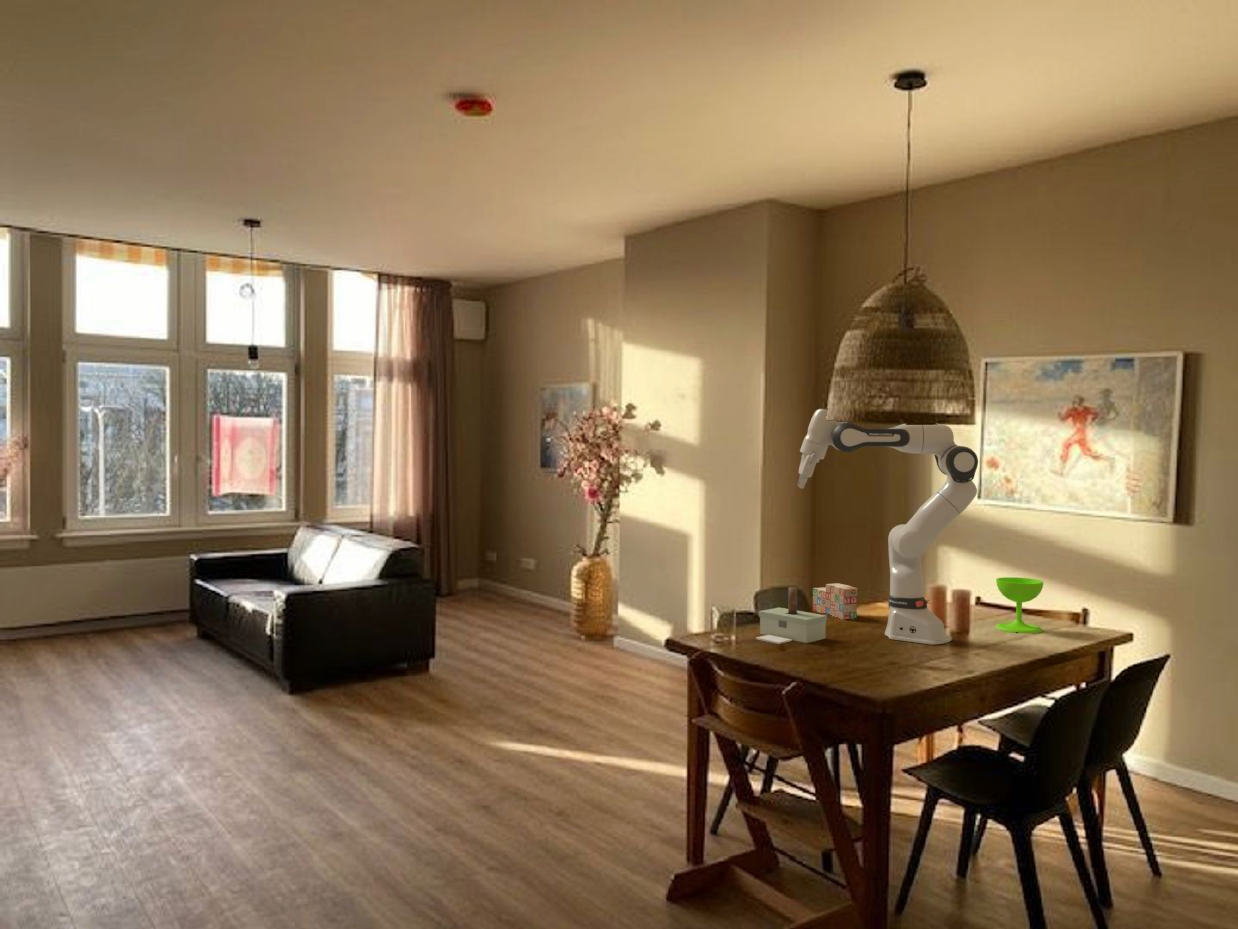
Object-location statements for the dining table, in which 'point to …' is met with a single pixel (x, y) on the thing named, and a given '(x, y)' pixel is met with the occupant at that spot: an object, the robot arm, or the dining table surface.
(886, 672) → the dining table surface
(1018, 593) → the wineglass
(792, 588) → the walnut key
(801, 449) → the robot arm
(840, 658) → the dining table surface
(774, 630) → the pale green lidded box
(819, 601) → the stack of blocks
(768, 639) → the felt mat
